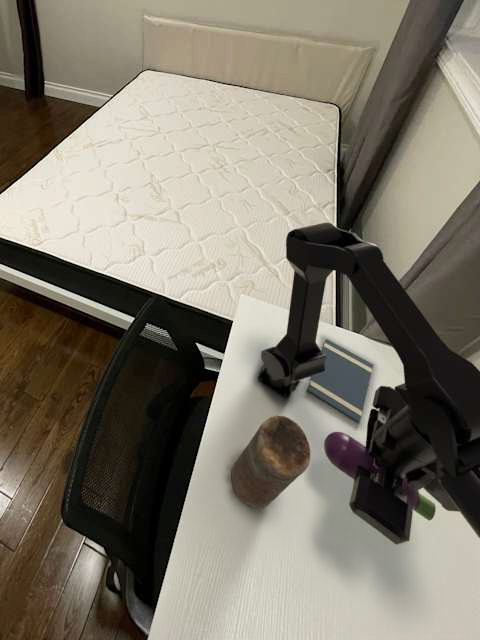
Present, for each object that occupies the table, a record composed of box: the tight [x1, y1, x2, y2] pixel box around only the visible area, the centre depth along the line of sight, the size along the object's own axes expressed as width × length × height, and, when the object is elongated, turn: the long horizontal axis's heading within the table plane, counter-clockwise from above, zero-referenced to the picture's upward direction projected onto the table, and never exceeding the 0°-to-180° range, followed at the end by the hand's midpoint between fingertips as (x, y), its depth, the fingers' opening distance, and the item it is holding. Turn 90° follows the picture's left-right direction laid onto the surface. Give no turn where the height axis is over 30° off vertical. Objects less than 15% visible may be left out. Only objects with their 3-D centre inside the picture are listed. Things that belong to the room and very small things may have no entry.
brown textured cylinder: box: [230, 415, 311, 509], centre depth 57 cm, size 8×7×20 cm
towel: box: [306, 338, 374, 424], centre depth 77 cm, size 10×14×1 cm
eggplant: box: [323, 431, 437, 521], centre depth 55 cm, size 15×5×5 cm, turn 54°
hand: (365, 471), depth 56 cm, fingers closed on eggplant, 5 cm apart
